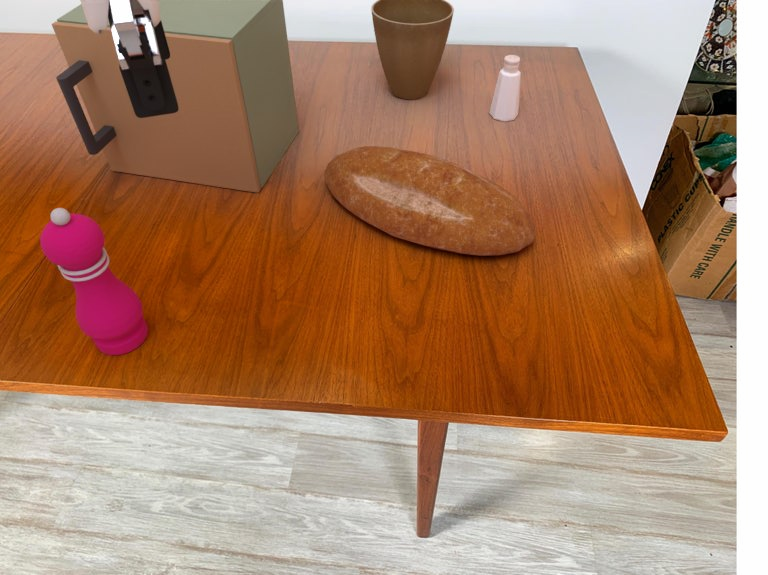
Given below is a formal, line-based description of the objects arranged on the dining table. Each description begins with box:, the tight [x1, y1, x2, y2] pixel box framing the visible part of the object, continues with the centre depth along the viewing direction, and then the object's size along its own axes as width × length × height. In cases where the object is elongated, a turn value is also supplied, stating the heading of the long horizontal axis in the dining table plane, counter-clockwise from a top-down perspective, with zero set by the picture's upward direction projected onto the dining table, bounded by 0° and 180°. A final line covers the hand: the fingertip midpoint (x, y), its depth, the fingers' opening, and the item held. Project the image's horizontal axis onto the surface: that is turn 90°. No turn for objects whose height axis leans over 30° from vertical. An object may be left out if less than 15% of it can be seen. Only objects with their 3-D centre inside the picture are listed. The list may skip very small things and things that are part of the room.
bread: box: [323, 145, 536, 257], centre depth 86 cm, size 18×35×9 cm, turn 57°
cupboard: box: [56, 0, 300, 190], centre depth 93 cm, size 18×26×24 cm
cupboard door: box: [51, 21, 262, 194], centre depth 85 cm, size 7×26×24 cm, turn 76°
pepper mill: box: [39, 207, 149, 356], centre depth 65 cm, size 7×7×20 cm
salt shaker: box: [488, 54, 522, 122], centre depth 106 cm, size 5×5×11 cm
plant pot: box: [370, 0, 455, 100], centre depth 110 cm, size 15×15×16 cm
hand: (155, 85), depth 48 cm, fingers open, 9 cm apart
